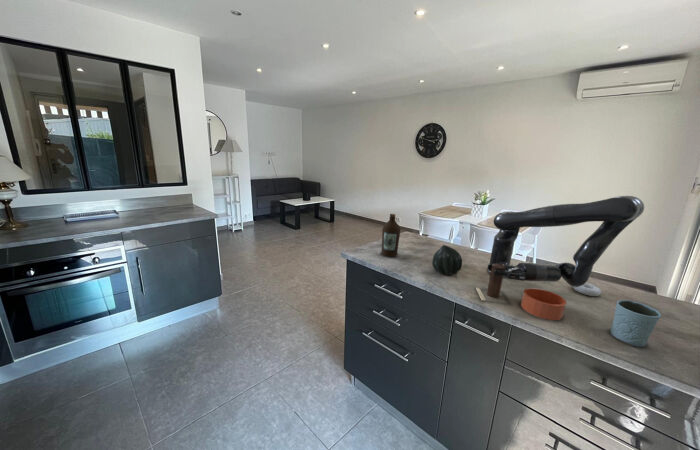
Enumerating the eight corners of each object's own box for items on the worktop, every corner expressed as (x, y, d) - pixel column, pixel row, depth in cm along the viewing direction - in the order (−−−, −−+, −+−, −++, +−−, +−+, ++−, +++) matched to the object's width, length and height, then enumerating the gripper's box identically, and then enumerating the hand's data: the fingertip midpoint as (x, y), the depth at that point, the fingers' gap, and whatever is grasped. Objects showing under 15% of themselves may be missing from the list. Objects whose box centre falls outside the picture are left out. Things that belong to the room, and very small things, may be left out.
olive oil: (382, 250, 167) (385, 211, 160) (398, 252, 164) (402, 213, 158) (379, 256, 157) (382, 215, 150) (397, 258, 154) (401, 216, 148)
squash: (473, 267, 132) (459, 240, 138) (450, 272, 126) (438, 244, 131) (454, 275, 144) (443, 250, 149) (433, 281, 137) (422, 254, 143)
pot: (515, 299, 113) (518, 285, 112) (551, 304, 110) (555, 290, 109) (528, 317, 100) (532, 302, 99) (569, 323, 98) (574, 308, 96)
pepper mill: (485, 292, 118) (490, 262, 114) (496, 293, 117) (502, 264, 113) (488, 297, 113) (494, 267, 110) (500, 299, 112) (506, 268, 109)
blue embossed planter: (636, 333, 93) (647, 303, 90) (657, 352, 84) (670, 319, 81) (601, 326, 97) (610, 297, 94) (617, 344, 87) (628, 312, 84)
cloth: (475, 288, 122) (476, 287, 122) (501, 292, 119) (502, 291, 119) (481, 300, 111) (481, 299, 111) (510, 304, 109) (510, 303, 109)
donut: (599, 292, 124) (571, 284, 130) (601, 285, 123) (573, 278, 129) (600, 300, 116) (571, 292, 122) (603, 293, 115) (574, 285, 121)
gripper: (523, 257, 118) (485, 255, 118) (545, 270, 104) (501, 268, 104) (520, 273, 120) (482, 270, 120) (540, 288, 106) (497, 285, 106)
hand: (491, 269), depth 112 cm, fingers open, 5 cm apart
